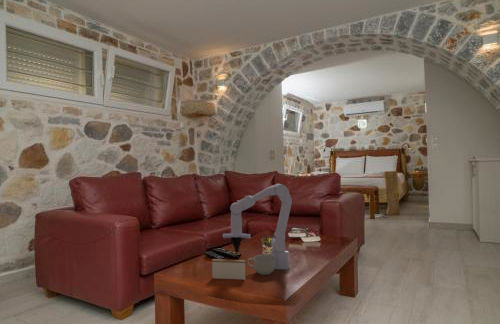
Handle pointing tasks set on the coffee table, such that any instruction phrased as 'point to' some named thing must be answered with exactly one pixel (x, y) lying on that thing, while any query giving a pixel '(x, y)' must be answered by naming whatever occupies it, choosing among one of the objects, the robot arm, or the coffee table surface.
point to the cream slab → (228, 269)
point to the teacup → (263, 264)
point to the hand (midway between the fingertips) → (237, 251)
